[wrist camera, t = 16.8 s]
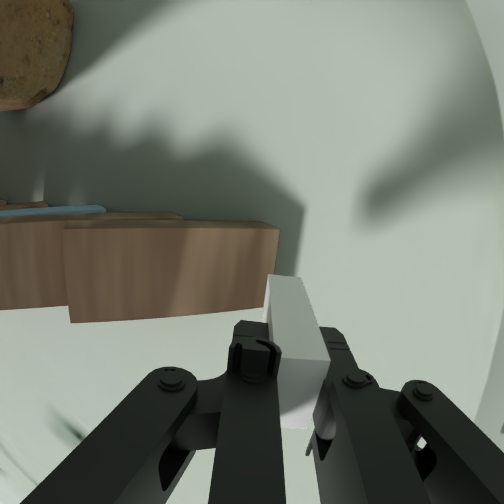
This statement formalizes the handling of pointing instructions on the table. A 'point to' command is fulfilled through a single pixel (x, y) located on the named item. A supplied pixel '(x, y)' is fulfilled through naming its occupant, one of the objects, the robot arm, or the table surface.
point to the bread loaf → (32, 49)
